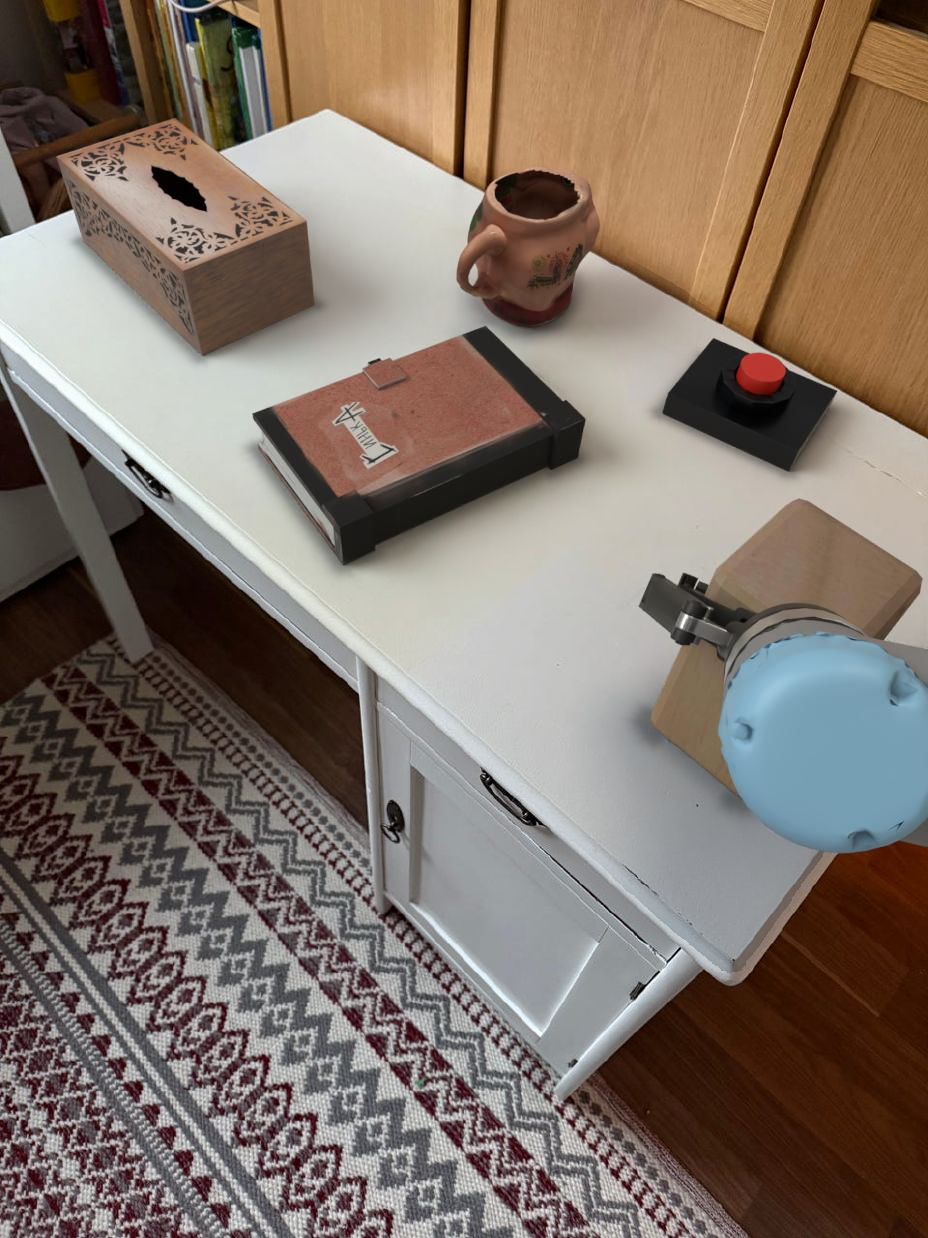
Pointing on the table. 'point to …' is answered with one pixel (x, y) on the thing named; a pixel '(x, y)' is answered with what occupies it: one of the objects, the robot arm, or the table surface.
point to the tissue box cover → (190, 233)
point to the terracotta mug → (529, 243)
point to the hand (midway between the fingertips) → (778, 633)
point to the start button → (760, 373)
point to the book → (415, 439)
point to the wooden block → (773, 575)
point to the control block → (748, 406)
